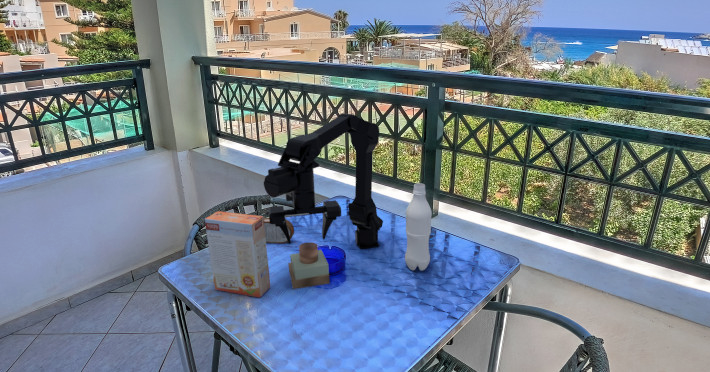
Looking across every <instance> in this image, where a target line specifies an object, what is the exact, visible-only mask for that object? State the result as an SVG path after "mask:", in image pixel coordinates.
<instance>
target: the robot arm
mask: <svg viewBox="0 0 710 372" xmlns="http://www.w3.org/2000/svg"><path fill="white" fill-rule="evenodd" d="M346 133H347V134H349V135H350V143H351V144H352V147H353V149H354V151H355V191H354V192H355V195H354V196H355V197H354V199H352V202H350V203H348V206H347V207H348V214H347V216H348V217H349V220H350V222H351V224H352V226H355V227H356V229H355V230H354V231H355V232H354V237H355V240H354V241H355V244H356V245H357V246H358V247H359V249H360V250H363V249H370V248H379V247H380V245H381V244H380V243H379V231H380V230H381V229H382V228H383V223H384V220H383V219H382V218H381V217H379V215H378V212H377V205H376V203H375V202H374V200H373V198H372V187H373V186H372V185H373V184H372V183H373V155H374V154H373V152H374V151H375V149H376V147H377V146H378V144H379V137H380V127H379V126H378V124H376V123H375V122H369V121H367V120H365V119H362V118H360V117H359V116H357V115H355V114H353V113H343V112H342V113H340V114H338V116H337V117H335V118H334V119H332V120H330V121H328V122H327V123H325V124H324V125H323V126H320V127H318V128H317V129H316V130H314V131H313V132H310V133H306V134H299V135H297V136H294V137H291V138H289V139H288V140H287V142H286V145H285V147H284V150H283V153H282V155H281V156H280V159H279V160H278V163H277V166H278V167H276V168H270V169H268V170H267V174H266V176H265V177H264V181H263V187H264V191H265V192H266V193H267V195H268V196H269V197H270V198H277V197H278V198H279V197H281V196H282V195H285V200H286V202H291V204H292V208H289V209H284V205H278V206H270V207H269V208H268V218H269V221H270V224H275V226H276V227H280V228H281V230H282V231H283V233H284V234H285V236H286V238H287V240H288V242H287V243H288V244H289V245H290V244H291V243H292V242H291V239H290V236H289V231H288V227H287V223H286V220H287V219H286V218H291V217H292V218H293V217H300V216H310V215H317V214H322V227H321V229H322V230H321V237H322V240H325V239H326V237H327V233H328V231H329V229H330V227H331V225H332V224H333V222H334V221H337V218H340V217H342V208H341V205H340V204H339V202H338V201H337V200H335V199H333V200H325V201H323V202H322V203H323V204H322V205H319V206H316V196H315V195H316V193H315V192H316V191H315V178H314V169H316V168H319V167H320V164H319V163H318V162H316V161H315V160H316V159H317V158H318V157H319V156H320V155H321V153H322V149H324V148H325V146H327V145H329V144H331V143H332V142H333V141H335V140H337V139H338V138H340V137H341V136H343V135H344V134H346Z"/></svg>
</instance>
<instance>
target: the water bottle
mask: <svg viewBox="0 0 710 372" xmlns="http://www.w3.org/2000/svg"><path fill="white" fill-rule="evenodd" d="M412 194H413V196H412V199H411V200H410V201H409V204H408V206H407V208H406V210H405V234H406V251H405V254H404V261H405V264H406V266H407V267H408V269H409V270H410V271H415V270H416V269H417V267H418V269H419V271H421V272H423V271H425V270H427V267H428V266H429V263H430V262H431V255H430V247H429V242H430V241H429V240H430V236H431V234H432V231H431V230H432V229H431V228H432V215H433V214H432V213H433V211H432V209H431V207H430V204H429V202H428V201H427V198H426V195H427V191H426V185H425V184H424V183H421V182H420V183H415V184H414V185H413V190H412Z"/></svg>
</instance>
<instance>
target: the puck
mask: <svg viewBox="0 0 710 372" xmlns="http://www.w3.org/2000/svg"><path fill="white" fill-rule="evenodd" d="M318 250H319V248H318V244H317V243H315V242H311V241H310V242H309V241H308V242H303V243H301V244H299V246H298V251H299V252H298V253H299V254H300V262H302V263H304V264H312V263H315V262H317V261H318Z"/></svg>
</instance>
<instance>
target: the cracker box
mask: <svg viewBox="0 0 710 372" xmlns="http://www.w3.org/2000/svg"><path fill="white" fill-rule="evenodd" d="M263 218H264V216H263V215H255V214H247V213H237V212H227V211H221V210H218V211H215V212H214V213H213V214H211V215H209V216H207V217H206V218H204V223H205V224H204V225H205V231H206V238H207V243H208V250H209V258H210V263H211V264H210V266H211V269H212V270H211V272H212V276H213V277H212V278H213V284H214V289H215V290H217V291H221V292H222V291H223V292H227V293H233V294H238V295H242V296H243V295H244V296H249V297H253V298H261V297H262V296H263V295H264V294H265V293H267V291H268V290H269V289H270V288H271V279H270V268H269V258H268V251H267V250H268V248H267V243H266V238H265V229H264V219H263Z"/></svg>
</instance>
